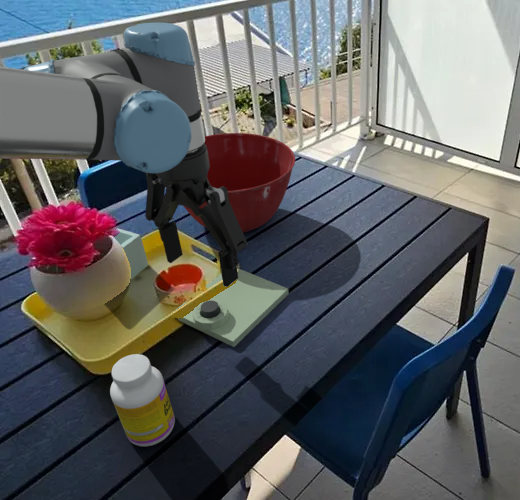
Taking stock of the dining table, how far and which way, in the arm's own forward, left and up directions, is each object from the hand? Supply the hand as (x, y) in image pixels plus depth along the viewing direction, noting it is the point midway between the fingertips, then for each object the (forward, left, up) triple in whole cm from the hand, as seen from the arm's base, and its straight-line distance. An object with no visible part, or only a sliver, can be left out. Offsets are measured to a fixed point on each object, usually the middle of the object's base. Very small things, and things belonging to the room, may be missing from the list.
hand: (202, 269), depth 82 cm
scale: (0, +5, -12) cm, 13 cm away
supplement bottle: (+7, -21, -12) cm, 25 cm away
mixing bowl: (-19, +29, -12) cm, 37 cm away
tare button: (0, 0, -10) cm, 10 cm away
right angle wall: (-28, -1, -12) cm, 31 cm away
